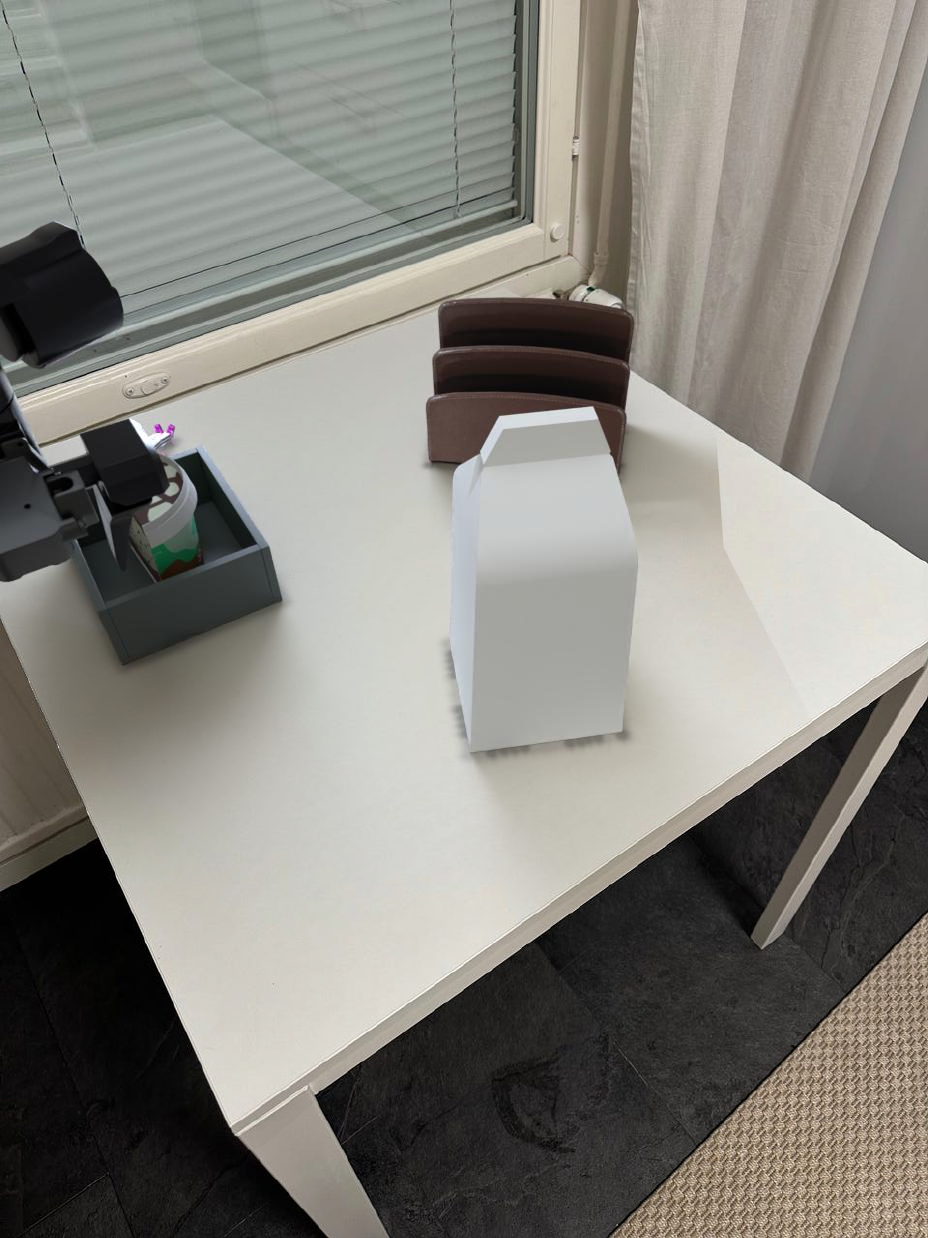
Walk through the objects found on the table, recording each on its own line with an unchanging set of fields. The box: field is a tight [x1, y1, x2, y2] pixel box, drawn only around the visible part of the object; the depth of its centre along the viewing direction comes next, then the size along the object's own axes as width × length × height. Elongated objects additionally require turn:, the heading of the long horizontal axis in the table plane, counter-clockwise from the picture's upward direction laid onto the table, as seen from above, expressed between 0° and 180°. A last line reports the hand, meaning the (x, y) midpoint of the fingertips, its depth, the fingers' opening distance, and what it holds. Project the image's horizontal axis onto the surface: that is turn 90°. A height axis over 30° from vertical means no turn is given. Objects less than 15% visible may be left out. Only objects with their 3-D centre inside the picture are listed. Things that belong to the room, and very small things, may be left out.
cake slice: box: [129, 453, 204, 583], centre depth 79 cm, size 12×6×10 cm, turn 36°
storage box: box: [72, 445, 283, 666], centre depth 80 cm, size 15×17×7 cm
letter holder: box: [425, 296, 635, 475], centre depth 90 cm, size 10×20×14 cm, turn 82°
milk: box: [449, 406, 639, 754], centre depth 63 cm, size 12×12×26 cm
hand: (58, 592), depth 63 cm, fingers open, 9 cm apart
